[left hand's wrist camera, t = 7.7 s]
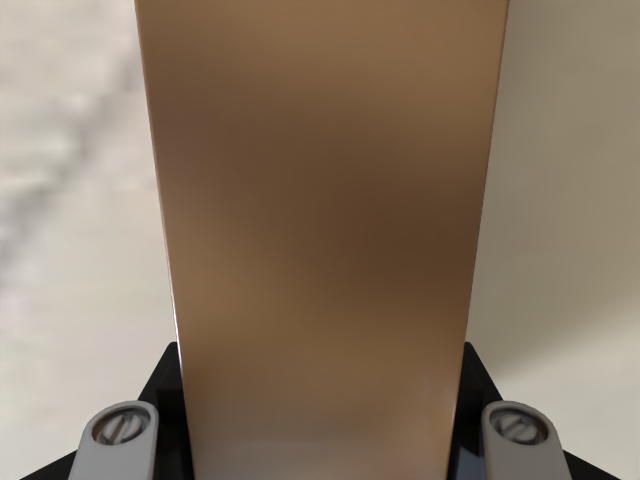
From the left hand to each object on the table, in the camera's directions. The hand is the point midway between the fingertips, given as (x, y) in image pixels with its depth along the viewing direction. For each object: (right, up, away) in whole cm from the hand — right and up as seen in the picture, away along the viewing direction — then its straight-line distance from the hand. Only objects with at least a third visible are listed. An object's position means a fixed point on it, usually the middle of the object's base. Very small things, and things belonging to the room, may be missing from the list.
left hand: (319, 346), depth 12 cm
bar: (0, +27, -8) cm, 28 cm away
